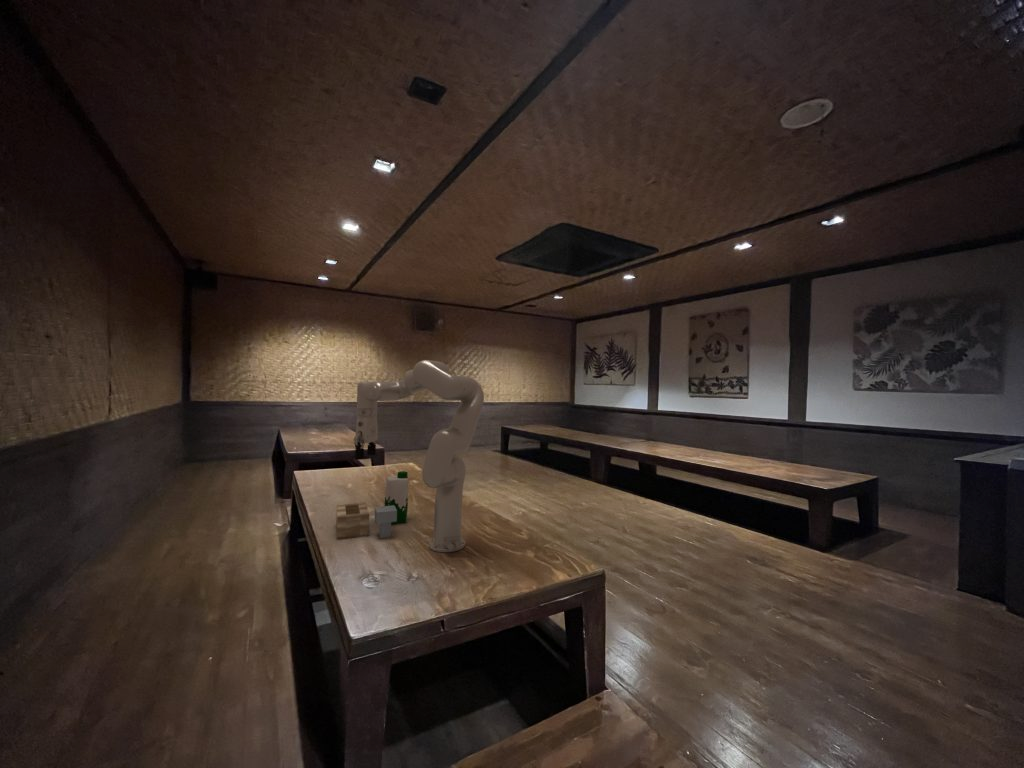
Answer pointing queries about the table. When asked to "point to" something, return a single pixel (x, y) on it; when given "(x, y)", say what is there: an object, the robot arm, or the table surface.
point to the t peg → (385, 519)
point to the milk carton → (397, 495)
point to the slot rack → (352, 521)
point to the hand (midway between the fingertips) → (365, 456)
